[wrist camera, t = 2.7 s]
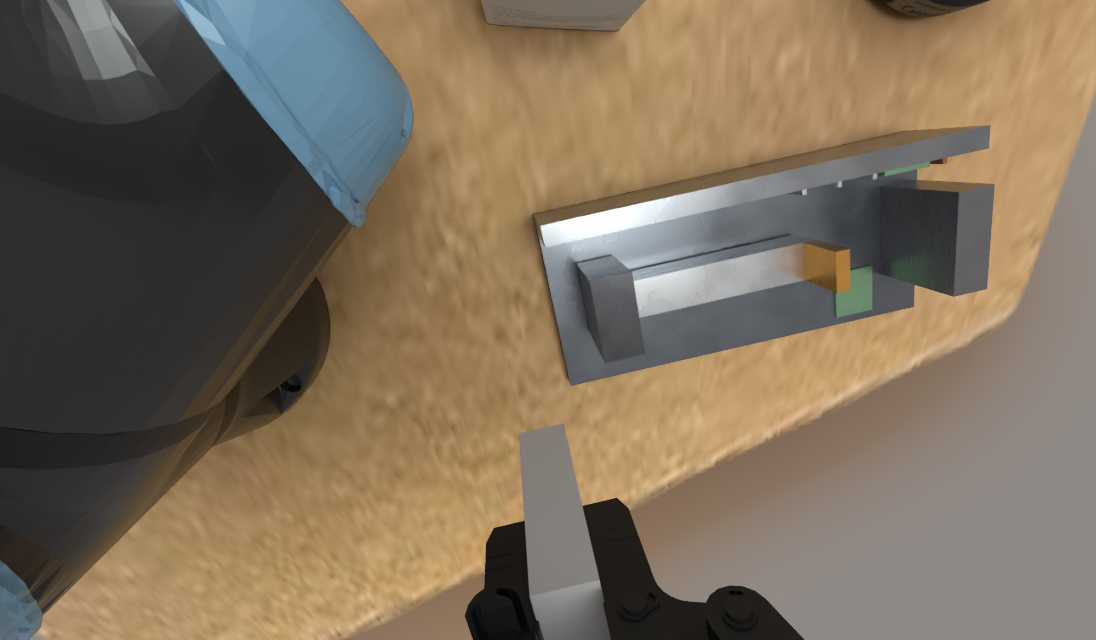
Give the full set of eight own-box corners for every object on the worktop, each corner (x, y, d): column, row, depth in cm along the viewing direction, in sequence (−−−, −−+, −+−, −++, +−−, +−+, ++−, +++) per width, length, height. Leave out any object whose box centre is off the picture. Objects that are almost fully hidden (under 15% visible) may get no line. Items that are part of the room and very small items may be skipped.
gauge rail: (568, 378, 37) (584, 429, 30) (533, 213, 33) (541, 228, 26) (901, 302, 37) (991, 334, 30) (903, 131, 33) (1007, 124, 26)
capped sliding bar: (590, 334, 34) (607, 367, 29) (576, 263, 33) (591, 284, 27) (796, 287, 34) (850, 311, 29) (793, 214, 33) (849, 225, 28)
